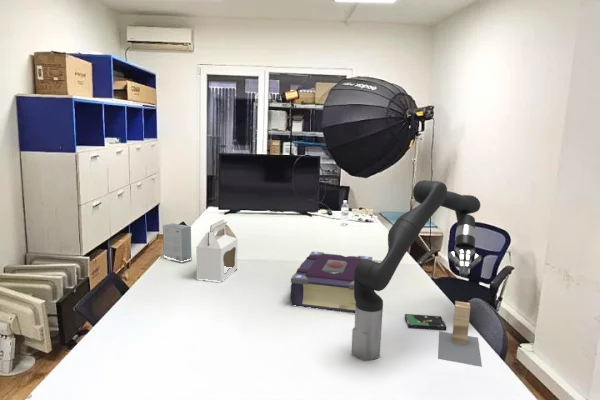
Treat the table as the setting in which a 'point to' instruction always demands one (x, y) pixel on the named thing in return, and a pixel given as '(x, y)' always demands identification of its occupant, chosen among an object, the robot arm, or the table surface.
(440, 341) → the rubber mat
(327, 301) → the book
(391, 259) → the robot arm
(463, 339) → the oak block
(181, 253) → the hard drive box
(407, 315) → the disk drive
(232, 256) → the gable box
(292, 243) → the table surface
